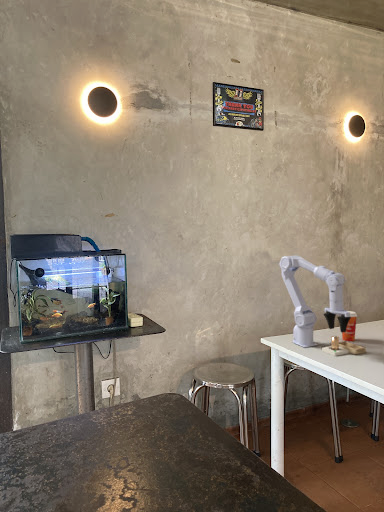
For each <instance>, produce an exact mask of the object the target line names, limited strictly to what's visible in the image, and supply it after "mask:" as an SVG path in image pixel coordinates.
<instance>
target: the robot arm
mask: <svg viewBox="0 0 384 512" xmlns="http://www.w3.org/2000/svg"><path fill="white" fill-rule="evenodd" d="M279 267H280V270H281V277H282V280H283V283H284V284H285V287H286V289H287V292H288V294H289V296H290V299H291V301H292V304H293V306H294V308H295V309H294V312H293V316H294V323H295V325H294V327H293V329H292V330H293V331H292V333H293V337H292V338H293V340H292V341H291V343H293V344H295V345H298V346H300V347H302V348H308V347H314V346H318V344H317V343H316V342H314V327H315V326H314V325H315V324H316V322H317V315H316V314H315V312H314V311H313V310H312V308H311V307H310V306H309V305H307V304H306V302H305V299H304V297H303V294H302V292H301V290H300V287H299V285H298V282H297V279H296V278H295V275H296V273H297V271H298V270H299V268H302V269H304V270H306V271H308V272H311V273H313V274H314V277H315V278H316V279H318V280H321V281H323V282H325V283H326V285H327V287H328V290H329V291H328V293H329V294H328V295H329V307H324V313H323V317H324V318H325V320H326V322H327V325H328V329H329V330H333V329H335V321H336V320H335V319H336V318H337V320H338V323H339V330H340V333H342V332H346V328H347V324H348V322H349V320H350V319H351V317H350V312H347V311H348V310H346V309H345V308H344V290H343V289H344V287H343V285H344V284H345V281H346V277H345V276H344V274H342V273H341V272H335V270H330V269H328V268H327V267H326V266H325V265H319V266H317V265H315V264H313V263H312V262H310V261H308V260H307V259H305V258H303V257H302V256H299V255H297V254H296V255H289V256H286V255H285V256H282V257H281V258H280V261H279ZM337 315H338V316H337ZM336 316H337V317H336Z"/></svg>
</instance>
